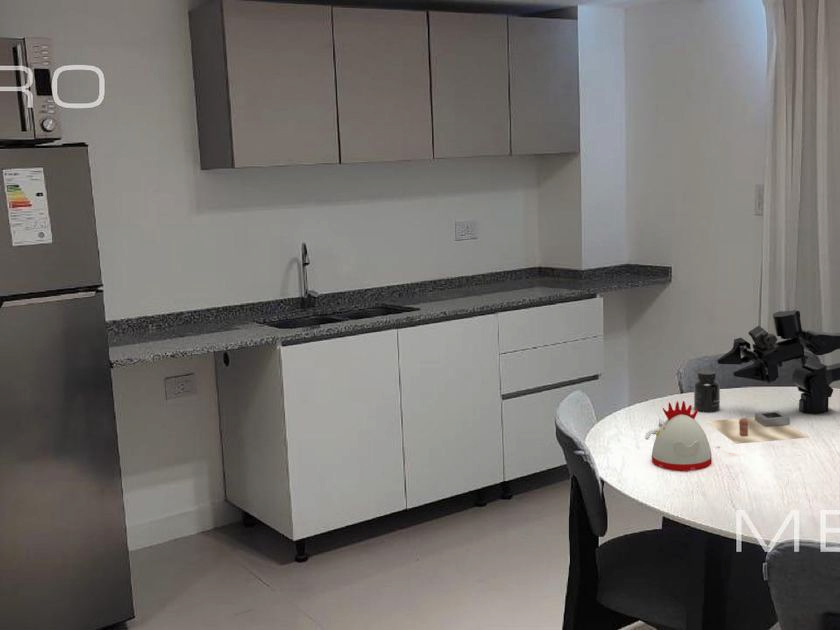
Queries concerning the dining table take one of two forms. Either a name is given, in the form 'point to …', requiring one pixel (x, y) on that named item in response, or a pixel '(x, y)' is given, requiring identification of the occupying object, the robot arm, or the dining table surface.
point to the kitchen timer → (681, 442)
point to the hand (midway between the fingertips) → (725, 368)
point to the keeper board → (754, 430)
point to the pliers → (654, 429)
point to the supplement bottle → (707, 392)
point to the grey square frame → (772, 419)
